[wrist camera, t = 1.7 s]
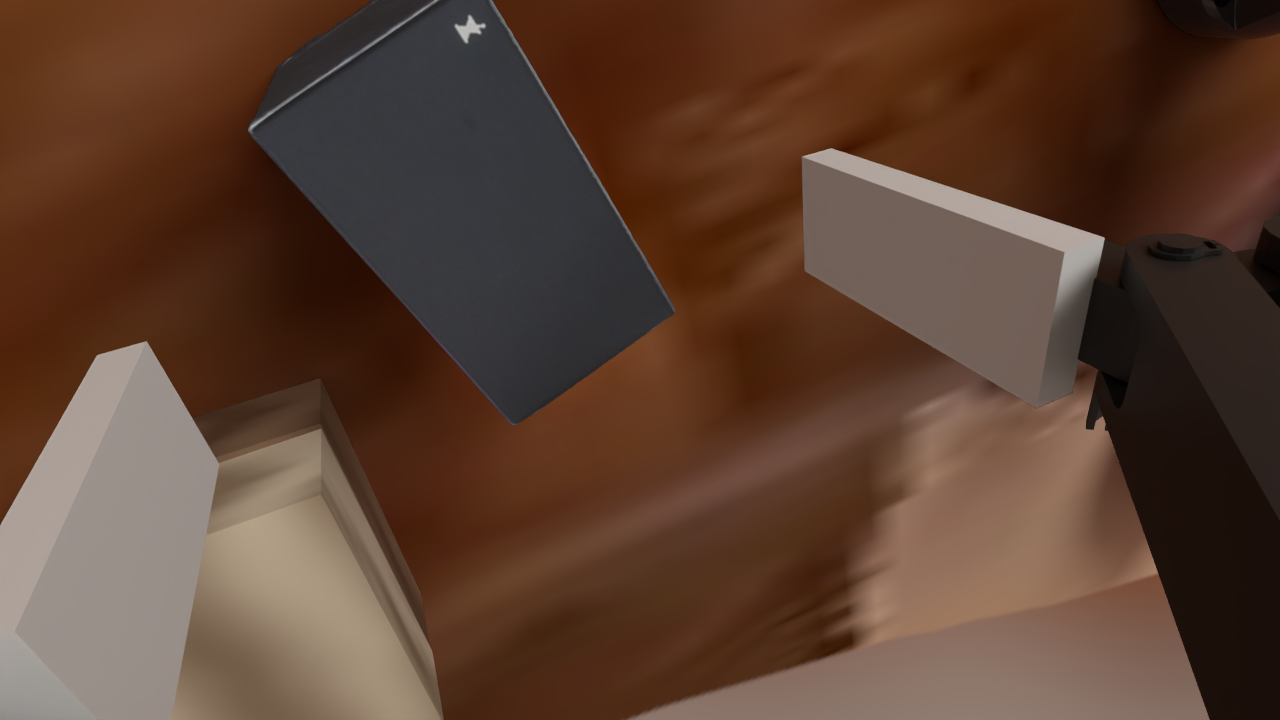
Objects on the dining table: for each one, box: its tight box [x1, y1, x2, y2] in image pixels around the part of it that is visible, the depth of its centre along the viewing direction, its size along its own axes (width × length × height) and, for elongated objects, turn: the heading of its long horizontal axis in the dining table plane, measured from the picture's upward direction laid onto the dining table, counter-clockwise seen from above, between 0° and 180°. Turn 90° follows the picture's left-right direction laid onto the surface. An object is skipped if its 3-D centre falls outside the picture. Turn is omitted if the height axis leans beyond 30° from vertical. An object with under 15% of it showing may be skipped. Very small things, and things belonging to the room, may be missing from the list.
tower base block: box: [192, 378, 429, 644], centre depth 30 cm, size 10×13×4 cm
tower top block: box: [171, 429, 444, 720], centre depth 26 cm, size 10×13×4 cm
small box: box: [248, 0, 675, 425], centre depth 22 cm, size 11×6×10 cm, turn 29°
